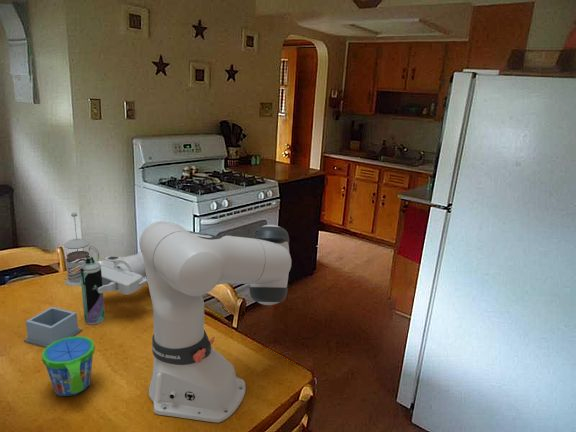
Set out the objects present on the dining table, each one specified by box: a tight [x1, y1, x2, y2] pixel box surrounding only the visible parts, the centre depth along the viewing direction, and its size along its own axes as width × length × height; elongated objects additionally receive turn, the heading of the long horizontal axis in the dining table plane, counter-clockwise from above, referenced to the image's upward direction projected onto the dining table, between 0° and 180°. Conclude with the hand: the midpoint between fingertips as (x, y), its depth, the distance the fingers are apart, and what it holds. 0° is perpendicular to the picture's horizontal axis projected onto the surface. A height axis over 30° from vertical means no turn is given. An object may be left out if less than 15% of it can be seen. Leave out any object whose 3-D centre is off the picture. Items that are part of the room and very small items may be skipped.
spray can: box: [79, 256, 106, 326], centre depth 122 cm, size 6×6×20 cm
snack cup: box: [41, 335, 96, 397], centre depth 96 cm, size 16×10×10 cm
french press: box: [63, 212, 100, 287], centre depth 146 cm, size 10×12×25 cm
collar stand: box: [23, 306, 83, 349], centre depth 115 cm, size 10×10×6 cm
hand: (89, 287), depth 121 cm, fingers closed on spray can, 5 cm apart
